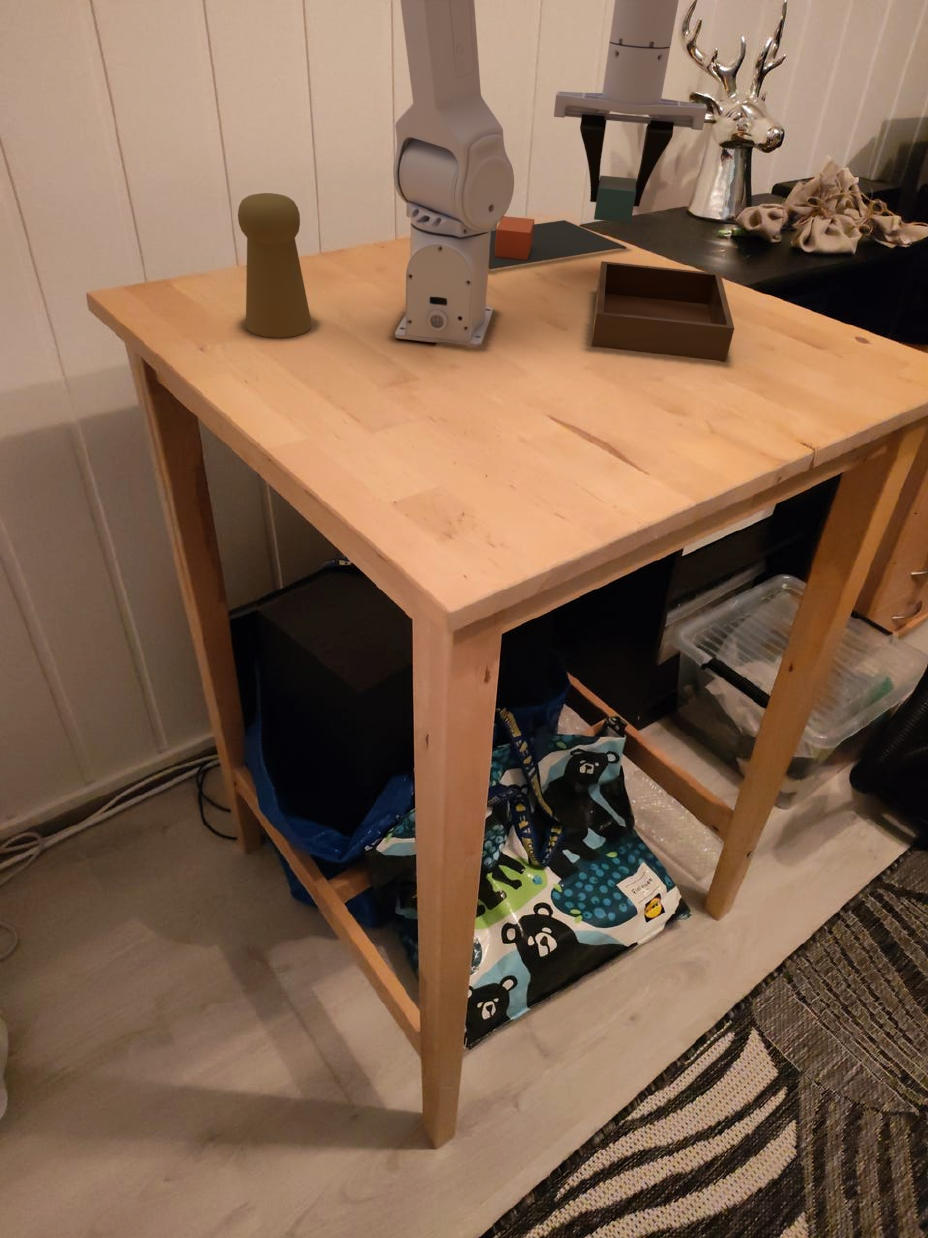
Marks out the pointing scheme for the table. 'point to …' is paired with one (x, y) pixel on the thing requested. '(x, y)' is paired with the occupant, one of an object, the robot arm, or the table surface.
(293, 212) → the cork
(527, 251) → the block
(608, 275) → the brown open tray
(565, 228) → the mat
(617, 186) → the block
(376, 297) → the table surface
